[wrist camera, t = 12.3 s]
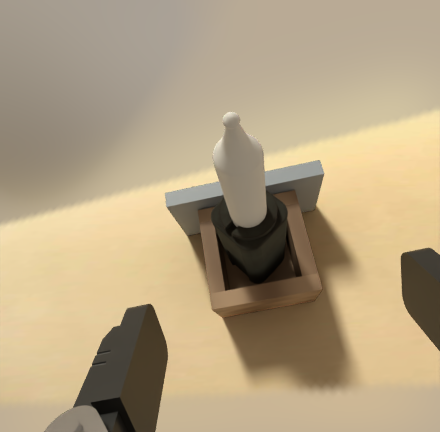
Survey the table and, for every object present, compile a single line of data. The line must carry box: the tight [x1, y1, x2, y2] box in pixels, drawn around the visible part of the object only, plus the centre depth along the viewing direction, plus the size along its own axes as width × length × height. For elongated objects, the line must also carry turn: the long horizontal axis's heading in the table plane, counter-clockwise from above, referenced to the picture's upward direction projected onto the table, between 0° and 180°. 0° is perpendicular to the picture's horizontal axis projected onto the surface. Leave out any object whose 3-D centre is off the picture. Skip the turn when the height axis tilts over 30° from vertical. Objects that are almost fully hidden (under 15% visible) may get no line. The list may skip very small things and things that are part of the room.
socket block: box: [198, 190, 323, 318], centre depth 37 cm, size 10×10×7 cm
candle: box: [211, 112, 288, 284], centre depth 28 cm, size 5×5×25 cm
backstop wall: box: [165, 160, 324, 236], centre depth 39 cm, size 16×2×9 cm, turn 99°
